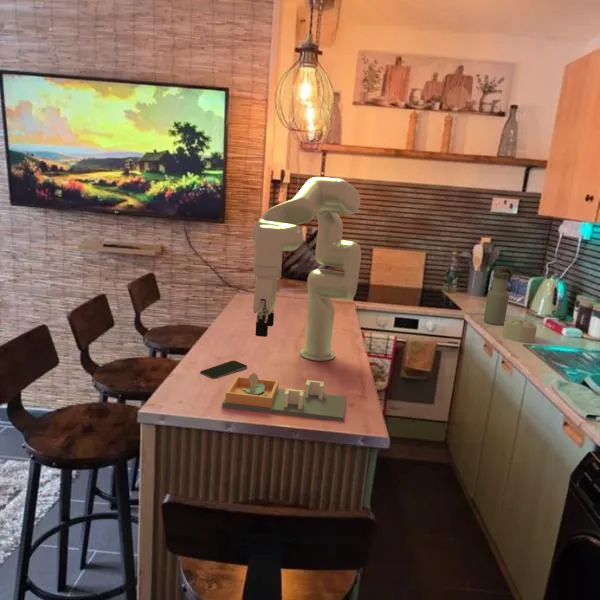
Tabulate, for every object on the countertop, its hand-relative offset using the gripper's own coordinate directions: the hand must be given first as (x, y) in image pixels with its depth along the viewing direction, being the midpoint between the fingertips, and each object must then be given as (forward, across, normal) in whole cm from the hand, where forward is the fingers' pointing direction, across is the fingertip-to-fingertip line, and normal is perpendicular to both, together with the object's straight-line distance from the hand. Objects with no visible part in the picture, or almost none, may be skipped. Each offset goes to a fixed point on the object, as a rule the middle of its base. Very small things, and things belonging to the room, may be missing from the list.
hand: (264, 330), depth 146 cm
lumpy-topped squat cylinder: (+23, -92, +99) cm, 137 cm away
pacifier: (+18, +4, -1) cm, 19 cm away
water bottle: (+24, -118, +94) cm, 152 cm away
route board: (+20, +4, +8) cm, 21 cm away
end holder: (+18, +4, -2) cm, 19 cm away
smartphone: (+21, -16, -15) cm, 30 cm away
